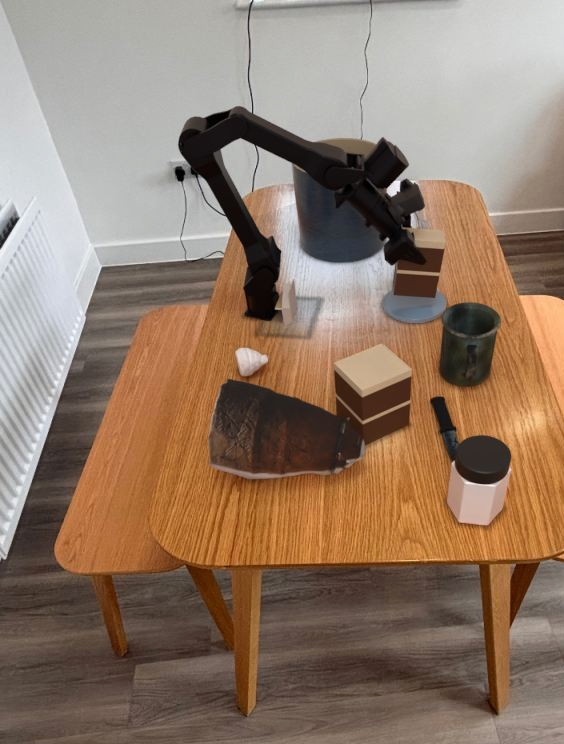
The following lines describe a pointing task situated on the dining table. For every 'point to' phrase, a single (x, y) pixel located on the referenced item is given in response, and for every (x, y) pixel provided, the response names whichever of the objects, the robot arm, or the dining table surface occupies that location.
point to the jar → (479, 479)
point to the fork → (422, 221)
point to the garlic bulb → (249, 361)
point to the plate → (414, 307)
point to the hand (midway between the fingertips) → (423, 256)
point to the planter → (333, 215)
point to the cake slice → (421, 266)
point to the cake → (373, 392)
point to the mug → (468, 343)
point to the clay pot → (277, 435)
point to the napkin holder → (287, 303)
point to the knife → (446, 425)
